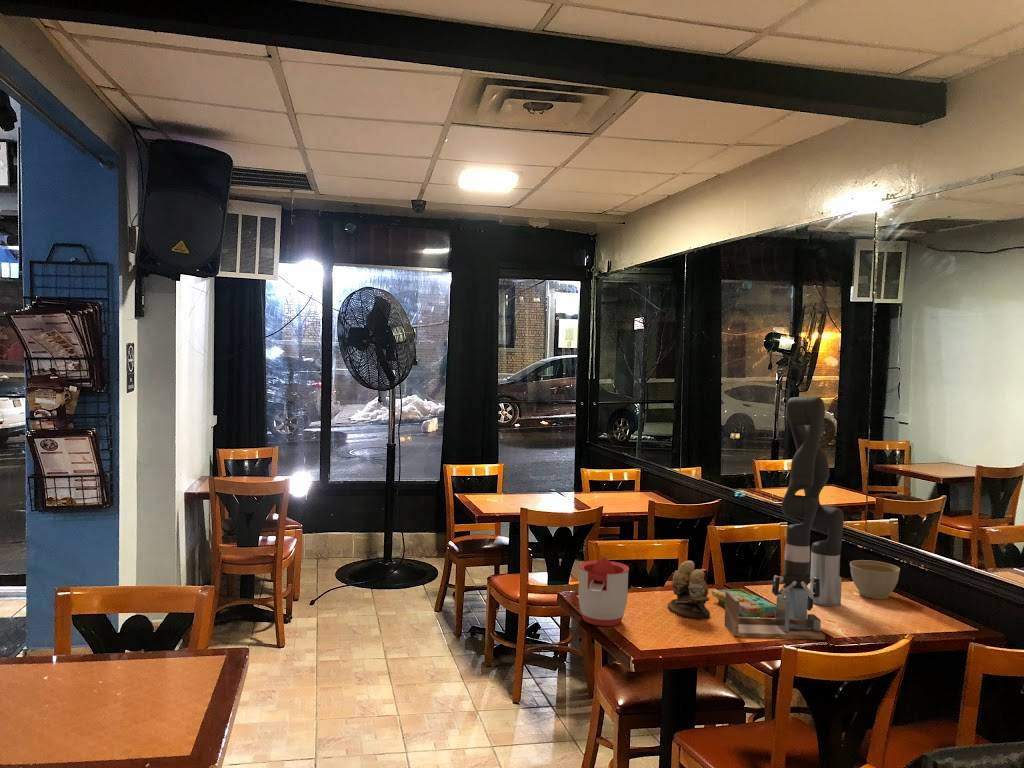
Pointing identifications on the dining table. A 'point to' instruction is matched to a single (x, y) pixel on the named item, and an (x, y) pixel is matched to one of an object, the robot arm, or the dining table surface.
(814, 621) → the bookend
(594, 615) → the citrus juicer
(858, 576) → the planter bowl
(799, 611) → the pale blue block
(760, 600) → the puzzle game
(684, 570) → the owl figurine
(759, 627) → the shelf
